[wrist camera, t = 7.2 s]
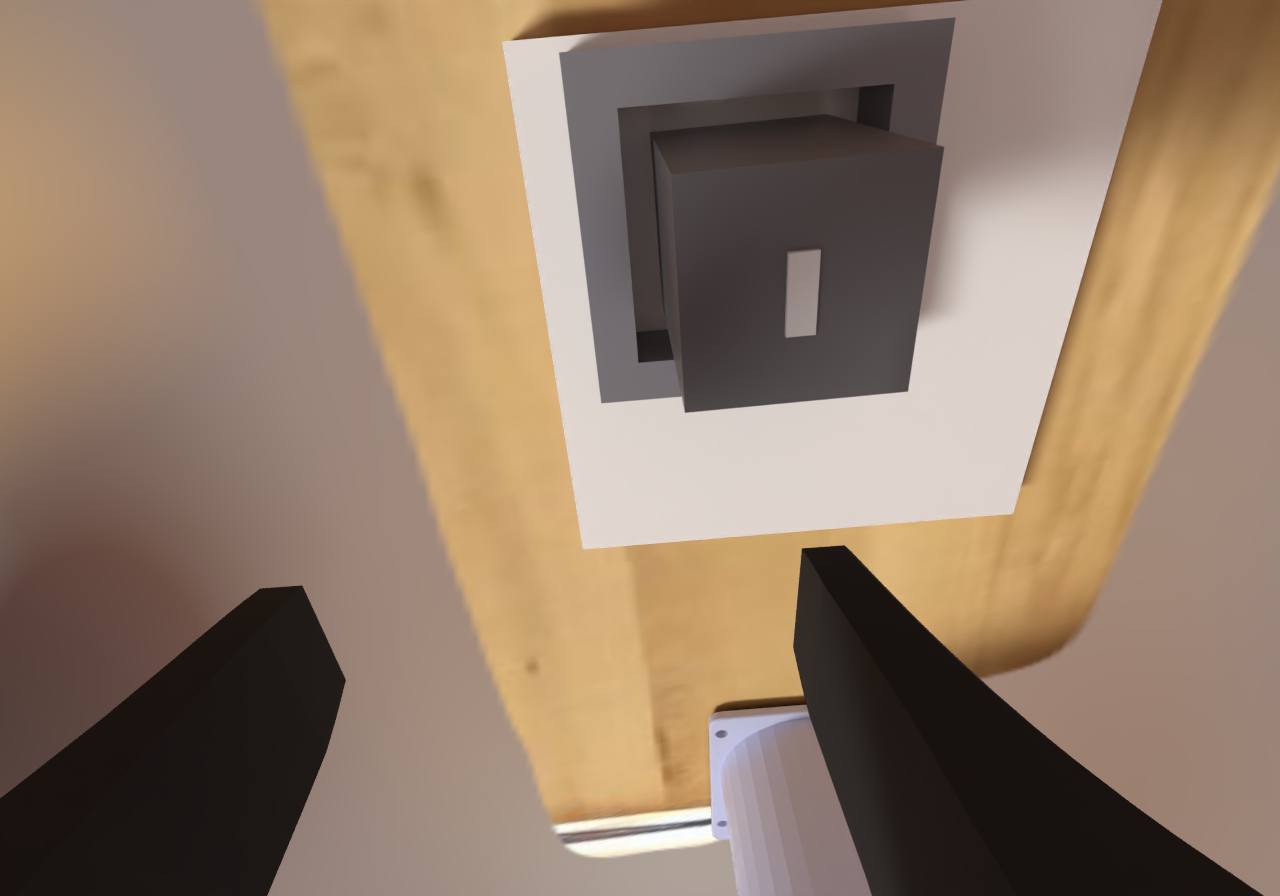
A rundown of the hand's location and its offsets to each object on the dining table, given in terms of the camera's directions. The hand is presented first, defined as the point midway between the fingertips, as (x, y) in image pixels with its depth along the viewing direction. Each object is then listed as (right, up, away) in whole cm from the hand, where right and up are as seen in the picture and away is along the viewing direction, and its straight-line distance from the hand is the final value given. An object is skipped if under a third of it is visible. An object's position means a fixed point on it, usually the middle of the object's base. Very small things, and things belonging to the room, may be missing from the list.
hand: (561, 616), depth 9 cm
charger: (+4, +8, +6) cm, 11 cm away
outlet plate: (+6, +6, +8) cm, 12 cm away
